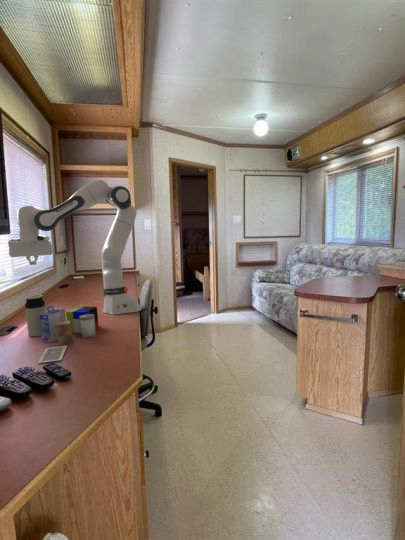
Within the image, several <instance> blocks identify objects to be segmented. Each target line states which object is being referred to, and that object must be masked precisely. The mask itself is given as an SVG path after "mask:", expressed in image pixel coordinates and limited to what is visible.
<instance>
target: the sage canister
mask: <svg viewBox="0 0 405 540" xmlns="http://www.w3.org/2000/svg"><path fill="white" fill-rule="evenodd" d="M94 318H95V315H94V314H85V315H81V316H80V317H79V319H80V324H81V333H80V334H81V337H82V338H91V337H94V336H96V328H95V321H94Z"/></svg>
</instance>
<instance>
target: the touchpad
mask: <svg viewBox="0 0 405 540" xmlns="http://www.w3.org/2000/svg"><path fill="white" fill-rule="evenodd" d="M67 347H68V345H63V346H54V347H53V346H52V347H46V348H45V349H44V351H43V353H42V355H41V356H40V358H39V360H38V362H37V364H41V363H47V362H48V363H50V362H56V361H62V359H63V357H64V355H65V352H66V350H67Z"/></svg>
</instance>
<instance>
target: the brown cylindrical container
mask: <svg viewBox="0 0 405 540" xmlns="http://www.w3.org/2000/svg"><path fill="white" fill-rule="evenodd" d="M56 326H57V335H58V340H57V343H58V344H57V345H58V347H60V346H69V345H73V344H72V343H73V335H72V334H73V333H71V323H70V320H69V321H67V320H66V321H61V322H57V325H56Z"/></svg>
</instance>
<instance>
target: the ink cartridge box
mask: <svg viewBox="0 0 405 540" xmlns="http://www.w3.org/2000/svg"><path fill="white" fill-rule="evenodd" d="M50 308H51V309H50ZM45 310H46V311H47V312H46V311H45V312H46V313H44V314H41V315H39V316H40V323H41V330H42V335H41V336H42V341H43V343H45V342H46V343H53V342H55V341H58V335H57V326H56V325H57V322H61V321H67V317H66V310H65V309H64V308H55V307H54V305H51V306H47V307H46V306H45Z"/></svg>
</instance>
